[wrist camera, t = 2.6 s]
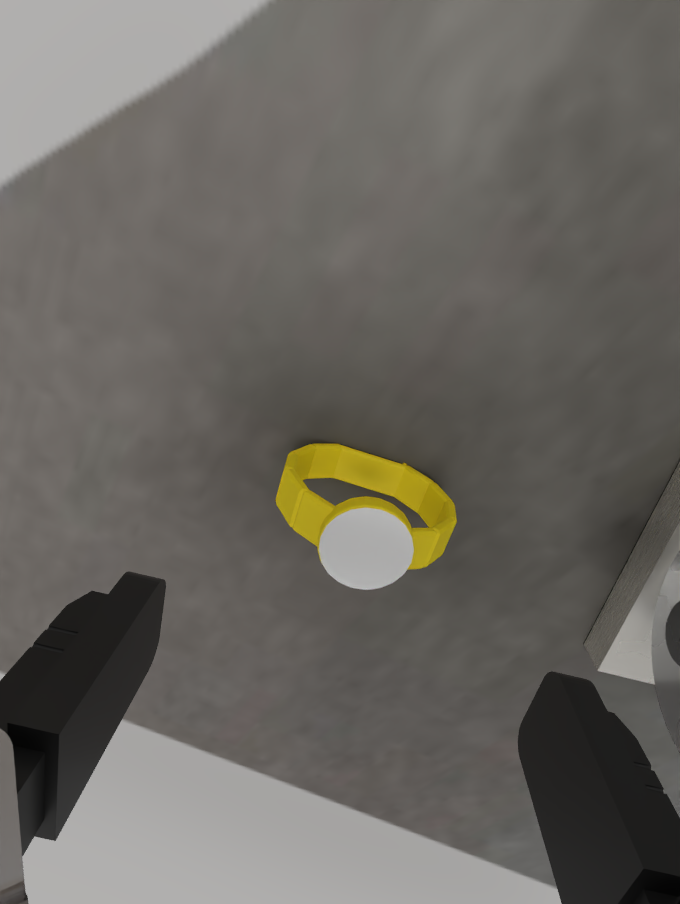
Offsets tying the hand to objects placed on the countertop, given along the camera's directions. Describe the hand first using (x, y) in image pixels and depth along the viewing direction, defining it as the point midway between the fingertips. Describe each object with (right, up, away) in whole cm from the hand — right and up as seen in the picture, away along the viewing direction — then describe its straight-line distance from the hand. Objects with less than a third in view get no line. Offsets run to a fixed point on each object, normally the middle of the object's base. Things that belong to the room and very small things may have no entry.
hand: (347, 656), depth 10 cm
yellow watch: (+1, +4, +10) cm, 10 cm away
